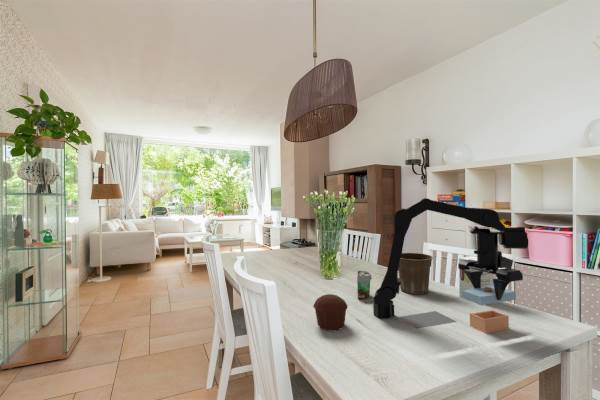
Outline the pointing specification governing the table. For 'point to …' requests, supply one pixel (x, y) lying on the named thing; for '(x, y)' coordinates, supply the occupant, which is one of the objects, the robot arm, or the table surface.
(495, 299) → the lid
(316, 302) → the muffin
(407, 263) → the plant pot
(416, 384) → the table surface
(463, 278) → the supplement box
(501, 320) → the orange open box
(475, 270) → the robot arm
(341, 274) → the table surface
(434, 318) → the mat
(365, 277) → the food container
